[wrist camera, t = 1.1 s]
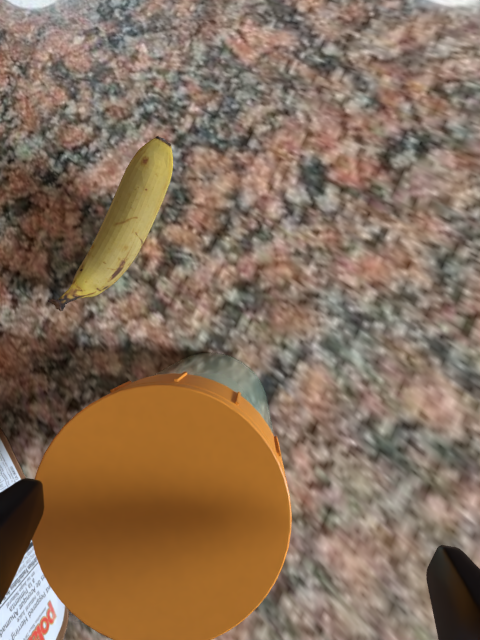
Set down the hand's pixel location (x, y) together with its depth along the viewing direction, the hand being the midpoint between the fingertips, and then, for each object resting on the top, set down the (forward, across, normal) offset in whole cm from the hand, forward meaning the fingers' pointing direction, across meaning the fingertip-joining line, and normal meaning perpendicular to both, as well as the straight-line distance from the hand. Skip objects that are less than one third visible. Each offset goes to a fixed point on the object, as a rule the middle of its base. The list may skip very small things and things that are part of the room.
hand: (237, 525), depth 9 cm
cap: (+2, +2, +2) cm, 3 cm away
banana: (+17, +8, -2) cm, 18 cm away
